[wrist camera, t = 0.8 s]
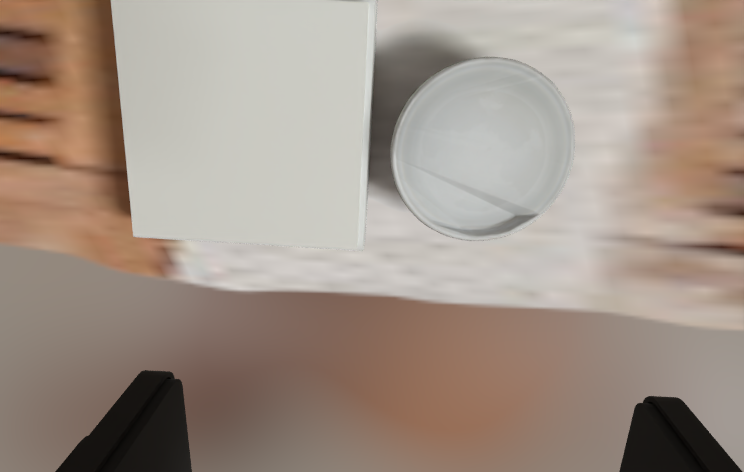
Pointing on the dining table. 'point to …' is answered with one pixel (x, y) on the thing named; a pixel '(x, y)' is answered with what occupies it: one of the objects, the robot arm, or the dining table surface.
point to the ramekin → (483, 148)
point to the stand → (247, 119)
